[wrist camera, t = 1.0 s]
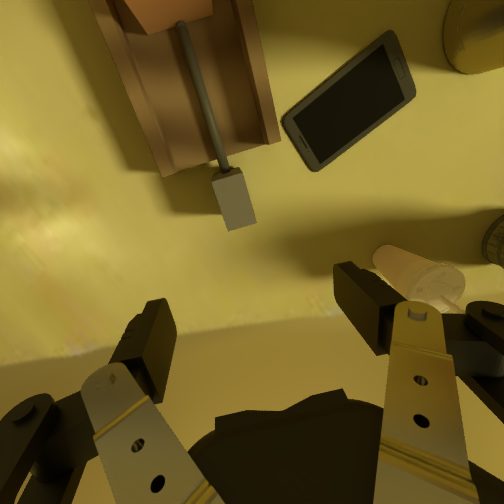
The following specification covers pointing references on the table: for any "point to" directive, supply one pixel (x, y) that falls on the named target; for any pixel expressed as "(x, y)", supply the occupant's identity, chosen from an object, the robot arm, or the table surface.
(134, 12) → the block
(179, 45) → the wooden crate
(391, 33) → the cell phone
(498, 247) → the thermos
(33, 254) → the table surface
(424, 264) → the smoothie
